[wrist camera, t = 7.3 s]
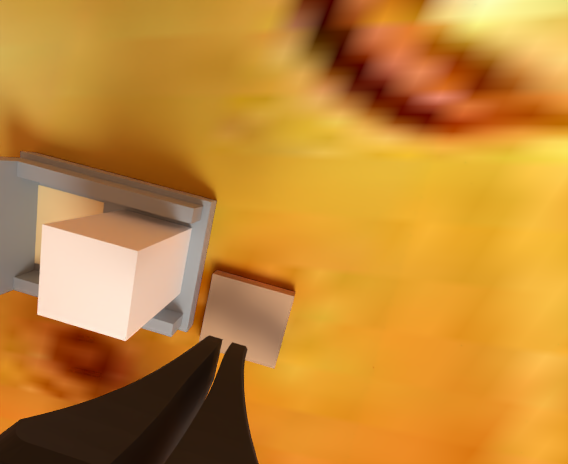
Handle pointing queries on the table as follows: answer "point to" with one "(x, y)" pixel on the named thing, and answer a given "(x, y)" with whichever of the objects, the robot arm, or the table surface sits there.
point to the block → (110, 270)
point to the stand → (247, 316)
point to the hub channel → (85, 202)
